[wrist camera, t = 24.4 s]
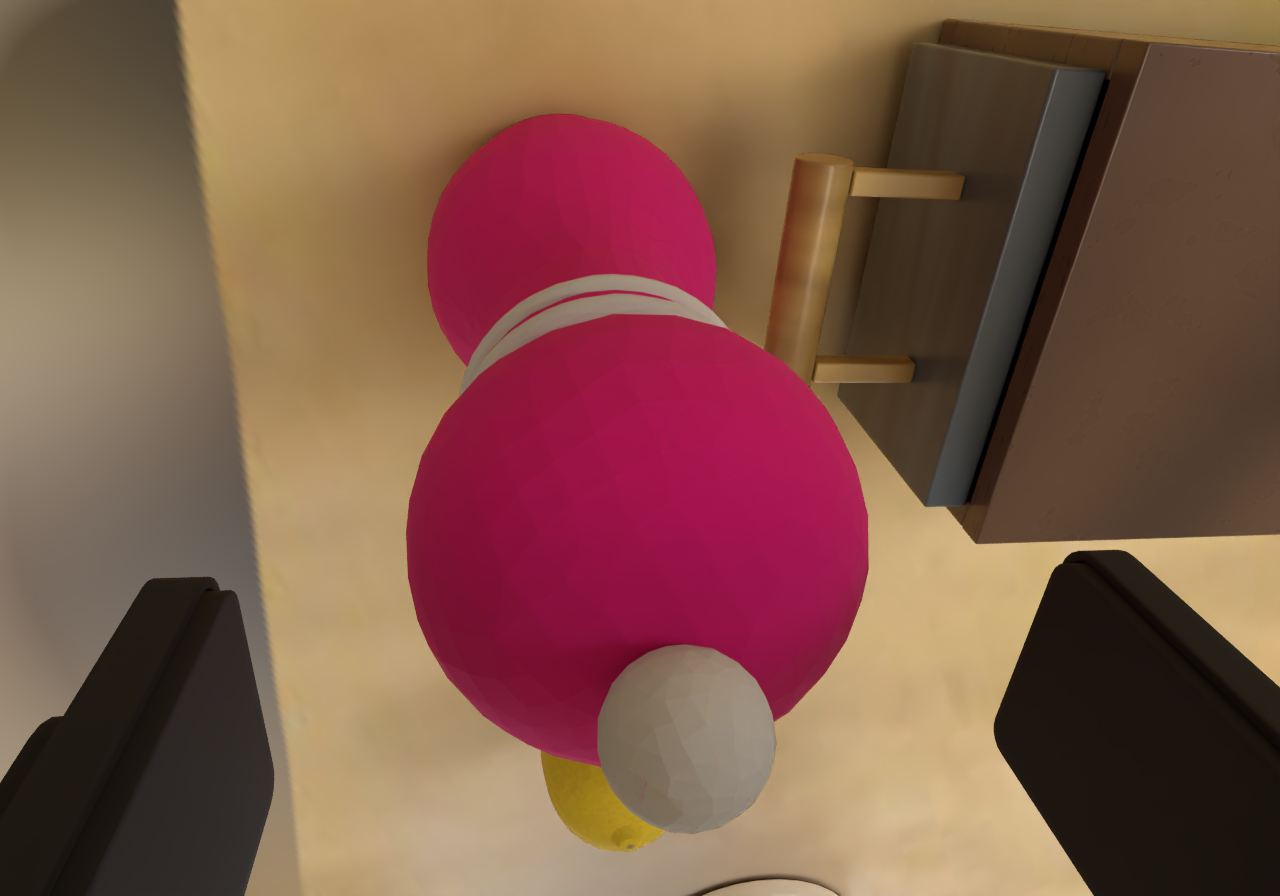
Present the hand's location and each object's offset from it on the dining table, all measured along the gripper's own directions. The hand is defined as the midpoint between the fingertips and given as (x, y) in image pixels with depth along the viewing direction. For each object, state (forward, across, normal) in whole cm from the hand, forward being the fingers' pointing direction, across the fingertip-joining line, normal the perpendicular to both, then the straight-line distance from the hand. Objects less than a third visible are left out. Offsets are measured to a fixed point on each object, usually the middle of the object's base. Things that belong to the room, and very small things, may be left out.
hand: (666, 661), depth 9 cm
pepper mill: (+18, 0, -1) cm, 18 cm away
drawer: (+17, -13, -1) cm, 22 cm away
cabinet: (+18, -17, -1) cm, 25 cm away
